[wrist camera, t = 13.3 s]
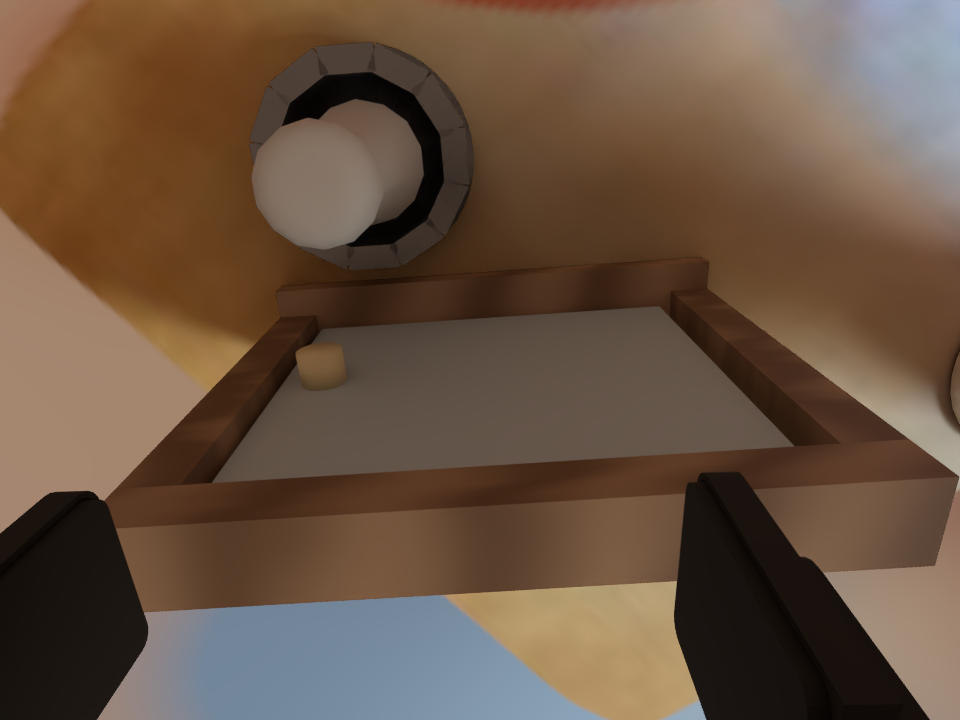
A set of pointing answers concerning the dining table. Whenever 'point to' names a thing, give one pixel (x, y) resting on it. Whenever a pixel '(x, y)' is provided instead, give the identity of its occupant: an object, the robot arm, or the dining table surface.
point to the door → (497, 397)
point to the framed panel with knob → (513, 468)
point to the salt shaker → (337, 174)
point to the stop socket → (411, 96)
